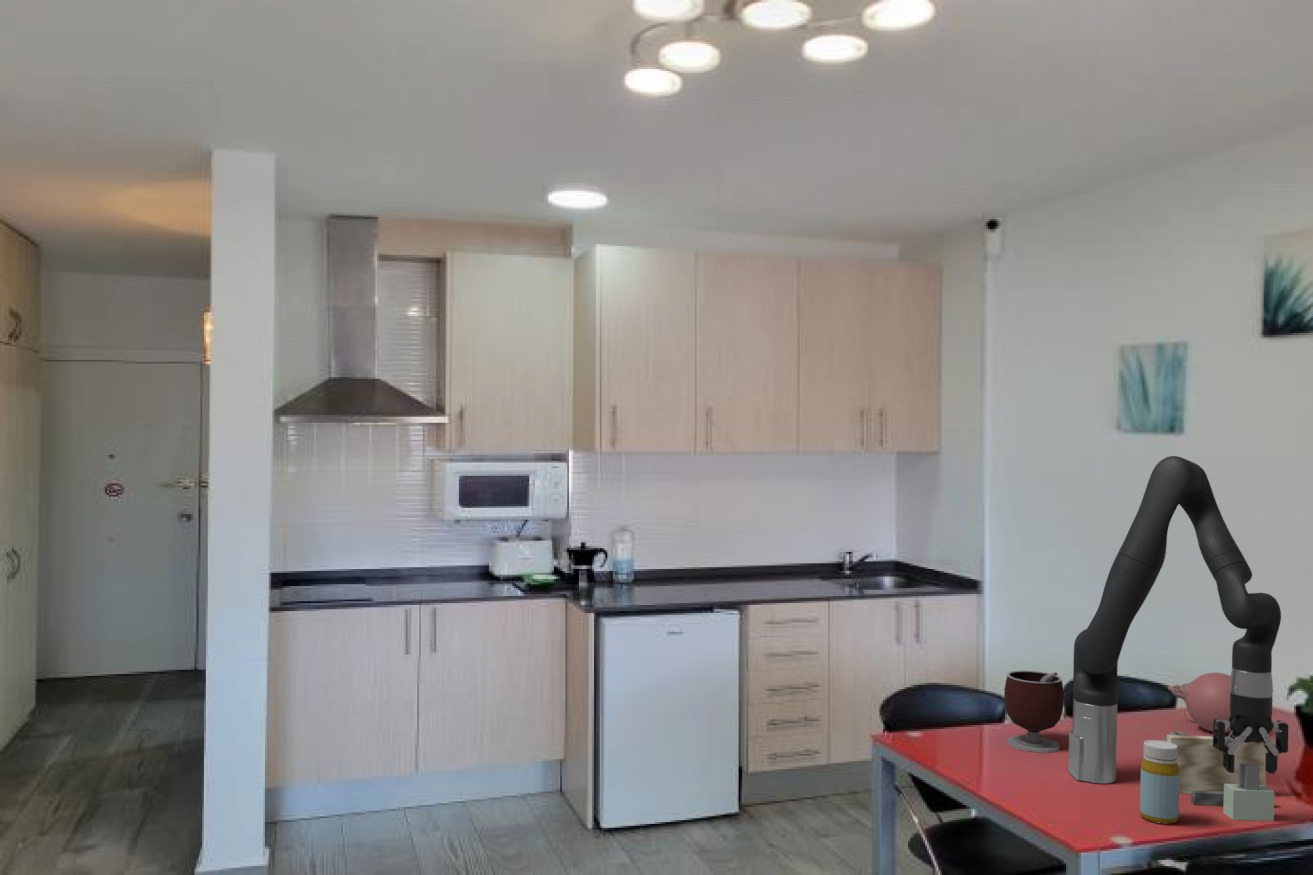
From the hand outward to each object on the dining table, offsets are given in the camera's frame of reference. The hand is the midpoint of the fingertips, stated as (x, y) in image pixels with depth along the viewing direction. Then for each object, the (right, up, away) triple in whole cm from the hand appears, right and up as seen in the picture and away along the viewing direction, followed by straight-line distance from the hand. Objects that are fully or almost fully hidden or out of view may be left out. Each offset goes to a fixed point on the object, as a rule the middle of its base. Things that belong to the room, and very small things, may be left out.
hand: (1249, 772), depth 215 cm
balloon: (+25, -9, +64) cm, 69 cm away
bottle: (-19, -9, -2) cm, 22 cm away
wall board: (0, -9, +11) cm, 14 cm away
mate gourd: (-27, -9, +46) cm, 54 cm away
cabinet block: (0, -9, 0) cm, 9 cm away
